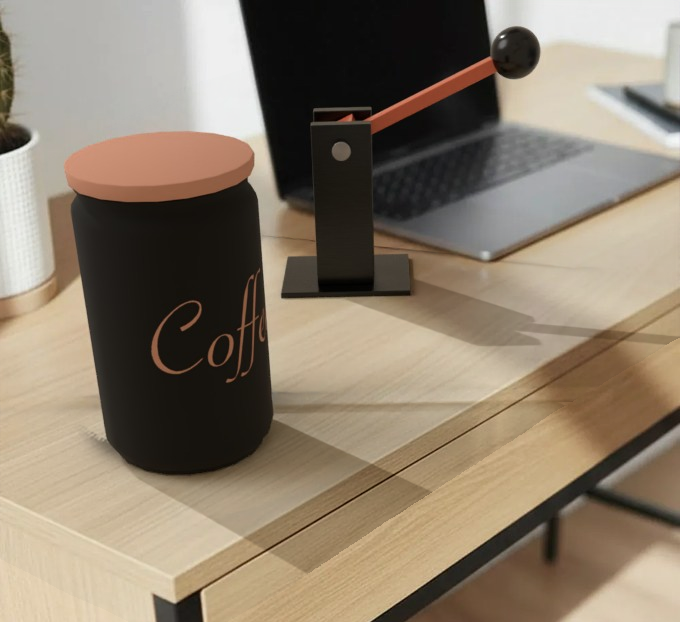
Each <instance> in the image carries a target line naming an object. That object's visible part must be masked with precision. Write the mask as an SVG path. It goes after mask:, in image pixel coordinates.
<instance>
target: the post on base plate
mask: <svg viewBox="0 0 680 622" xmlns="http://www.w3.org/2000/svg"><path fill="white" fill-rule="evenodd" d="M350 114H353V116H354V118H355V120H356V121H339V120H341V119H343V118H345V117H346V116H348V115H350ZM312 116H313V117H312V118H313V121H312V122H310V144H311V163H312V164H311V165H312V166H311V167H312V185H313V189H312V190H313V210H314V230H315V232H314V233H315V248H316V249H315V253H316V255H291V256H289V255H288V256H287V258H286V259H287V260H286V264H285V269H284V275H283V280H282V285H281V292H280V299H310V298H311V299H314V298H315V299H318V298H320V299H323V298H324V299H325V298H365V297H366V298H367V297H369V298H370V297H371V298H372V297H410V296H411V280H410V278H411V277H410V276H411V275H410V260H409V253H385V254H384V253H383V254H381V253H379V254H375V235H374V234H375V226H374V223H375V222H374V221H375V219H374V179H373V178H374V175H373V174H374V173H373V170H374V169H373V168H374V167H373V134H372V135H371V121H363V120H365V119H367V118H369V117H371V116H373V115H372V107H371V106H351V107H318V108H317V107H316V108H313V111H312ZM337 121H338V122H337Z"/></svg>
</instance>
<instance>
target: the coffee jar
mask: <svg viewBox="0 0 680 622" xmlns="http://www.w3.org/2000/svg"><path fill="white" fill-rule="evenodd" d="M254 168H255V151H254V150H253V148H252V147H251V146H250V144H249V143H248V142H245V141H243V140H241V139H238V138H237V137H234V136H230V135H224V134H219V133H215V132H203V131H191V130H182V131H177V130H176V131H155V132H154V131H153V132H145V133H136V134H130V135H129V134H128V135H124V136H120V137H113V138H110V139H105V140H102V141H99V142H96V143H93V144H89V145H87V146H85V147H83V148H81V149H79V150H77V151H75V152H72V153H71V154H70V155H69V156H68V157H67V159H66V160H64V162H63V170H64V174H65V179H66V183H67V186H68V187H69V188H70V189H71V190H72V191H73V192H74V193H75V194H76V195H75V197H74V199H73V200H72V202H71V203H70V216H71V223H72V230H73V236H74V243H75V248H76V254H77V255H76V256H77V262H78V267H79V268H78V269H79V275H80V280H81V281H80V282H81V288H82V293H83V300H84V305H85V313H86V319H87V326H88V332H89V337H90V345H91V349H92V350H91V351H92V356H93V357H92V358H93V364H94V371H95V376H96V382H97V389H98V394H99V401H100V407H101V413H102V420H103V427H104V432H105V438H106V440H107V442H108V443H109V445H110V446H111V447H112V448H113V449H114V450H115V451H116V452H117V453H118V454H119V455H120V456H121V458H122V459H124V461H126V462H127V464H129V465H131V466H132V467H135V468H138V469H140V470H142V471H144V472H149V473H154V474H159V475H165V476H194V475H199V474H207V473H213V472H217V471H219V470H223V469H226V468H228V467H231V466H235V465H237V464H238V463H240V462H242V461H244V460H245V459H247V458H248V457H250V456H252V455H253V454H254V453H255V452H256V450H258V449H259V448H260V446H261V445H262V444H263V441H264V439H265V438H266V437H267V436H268V434H269V432H270V430H271V427H272V422H273V419H274V418H273V417H274V406H273V405H274V404H273V389H272V375H271V362H270V348H269V347H270V346H269V333H268V321H267V320H268V319H267V305H266V291H265V290H266V289H265V277H264V263H263V250H262V249H263V248H262V247H263V246H262V237H261V236H262V235H261V233H262V232H261V221H260V208H259V198H258V195H257V192H256V190H255V189H254V188H253V186H252V184H251V183H250V182H249V177H250V176H251V174H252V172H253V170H254Z"/></svg>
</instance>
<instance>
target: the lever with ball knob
mask: <svg viewBox="0 0 680 622" xmlns="http://www.w3.org/2000/svg"><path fill="white" fill-rule="evenodd" d="M489 52H490V53H489V55H490V56H488V57H486V58H484V59H482V60H480V61H478V62H475V63H474V64H472V65H470V66H468V67H466V68H464V69H462V70H460V71H458V72H455V74H452V75H451V76H448V77H446V78H444V79H443V80H440V81H439V82H436V83H435V84H433V85H430V86H429V87H426V88H425V89H422V90H421V91H418V92H417V93H415V94H413V95H410V96H409V97H407V98H405V99H403V100H401V101H399V102H397V103H395V104H393V105H391V106H389V107H387V108H385V109H383V110H381V111H380V112H377V113H375V114H373V115H372V116H371V117H369V118H367V119H365V120H363V121H371V135H372V136H373V134H375V133H378V132H380V131H382V130H384V129H386V128H388V127H390V126H392V125H394V124H395V123H398V122H400V121H402V120H404V119H405V118H408V117H410V116H412V115H415V113H419V112H420V111H422V110H423V109H425V108H428V107H429V106H432V105H434V104H436V103H438V102H439V101H441V100H444V99H446V98H448V97H450V96H452V95H453V94H456V93H458V92H460V91H462V90H464V89H465V88H467V87H469V86H471V85H474V84H475V83H477V82H479V81H481V80H483V79H485V78H487V77H489V76H491V75H493V74H495V73H497V74H498V75H500V76H501V77H503V78H505V79H508V80H520V79H521V80H522V79H524V78H526V77H528V76H529V75H530V74H532V73H533V72H534V70H535V69H536V68H537V66H538V65H539V62H540V59H541V53H542V51H541V44H540V41H539V39H538V37H537V35H536V34H535V33H534V32H533V31H532V30H530V29H529V28H526V27H525V26H522V25H521V26H520V25H513V26H509V27H506V28H503V30H501V31H500V32H499V33H498V34H496V36H495V38H494V39H493V40H492V43H491V45H490V51H489ZM339 121H356V120H355V118H354V116H353V114H350V115H348V116H346V117H345V118H343V119H341V120H339ZM337 122H338V121H337Z"/></svg>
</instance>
